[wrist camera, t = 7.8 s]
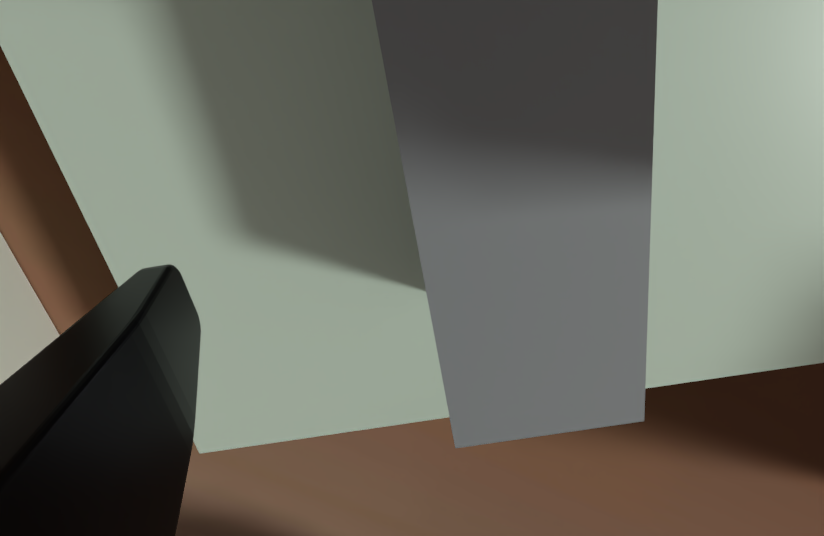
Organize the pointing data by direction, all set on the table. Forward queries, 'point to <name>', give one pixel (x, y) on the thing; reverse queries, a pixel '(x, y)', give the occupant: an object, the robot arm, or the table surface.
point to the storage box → (19, 317)
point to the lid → (448, 197)
